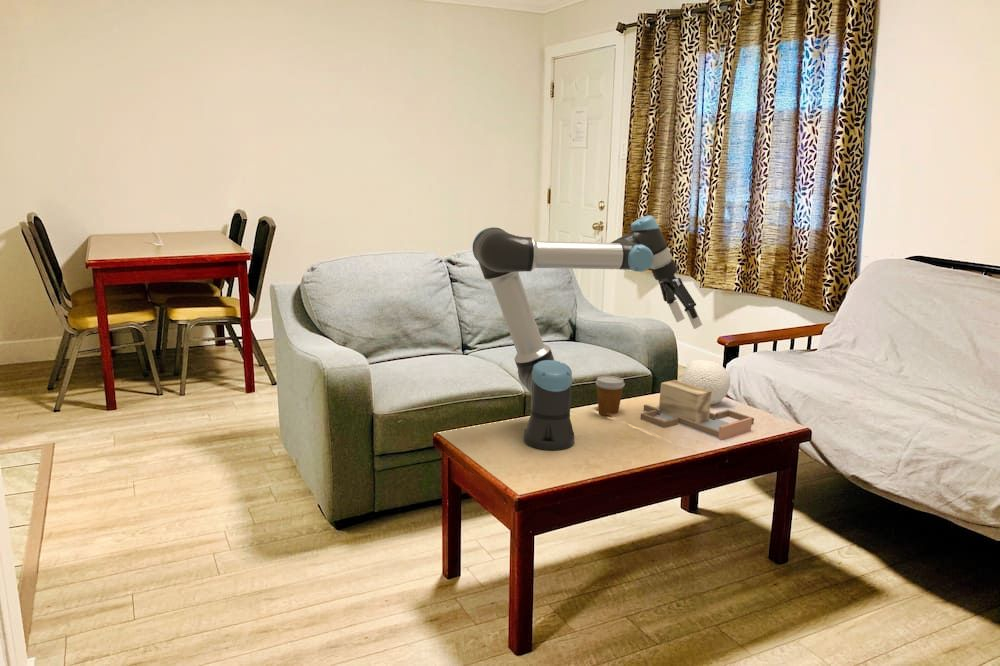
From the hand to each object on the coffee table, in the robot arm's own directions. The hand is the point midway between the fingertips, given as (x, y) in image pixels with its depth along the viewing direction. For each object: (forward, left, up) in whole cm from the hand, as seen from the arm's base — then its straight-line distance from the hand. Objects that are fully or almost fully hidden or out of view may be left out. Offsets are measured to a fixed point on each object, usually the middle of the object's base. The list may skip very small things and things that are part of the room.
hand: (689, 323), depth 241 cm
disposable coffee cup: (-14, +19, -33) cm, 41 cm away
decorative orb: (+22, +9, -33) cm, 41 cm away
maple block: (+3, +1, -32) cm, 32 cm away
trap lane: (+3, -3, -33) cm, 33 cm away
